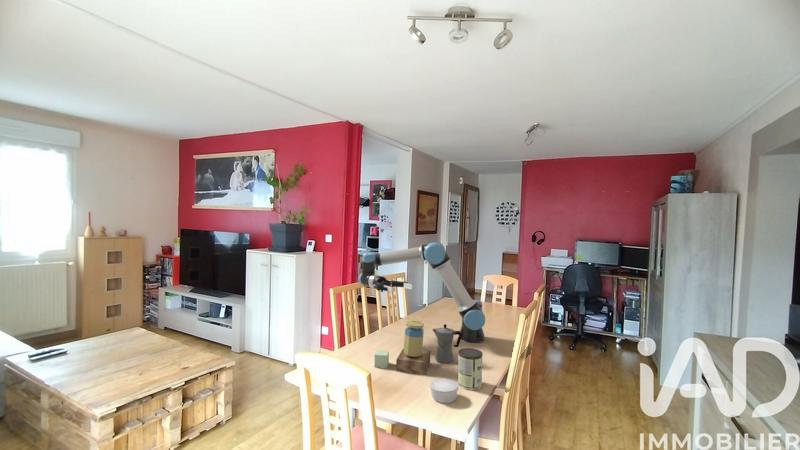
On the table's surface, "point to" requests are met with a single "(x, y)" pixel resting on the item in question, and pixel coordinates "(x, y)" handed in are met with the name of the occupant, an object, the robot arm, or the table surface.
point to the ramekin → (443, 390)
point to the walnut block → (413, 363)
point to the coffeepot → (445, 343)
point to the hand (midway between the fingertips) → (402, 288)
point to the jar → (413, 339)
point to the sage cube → (381, 359)
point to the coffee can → (470, 368)
